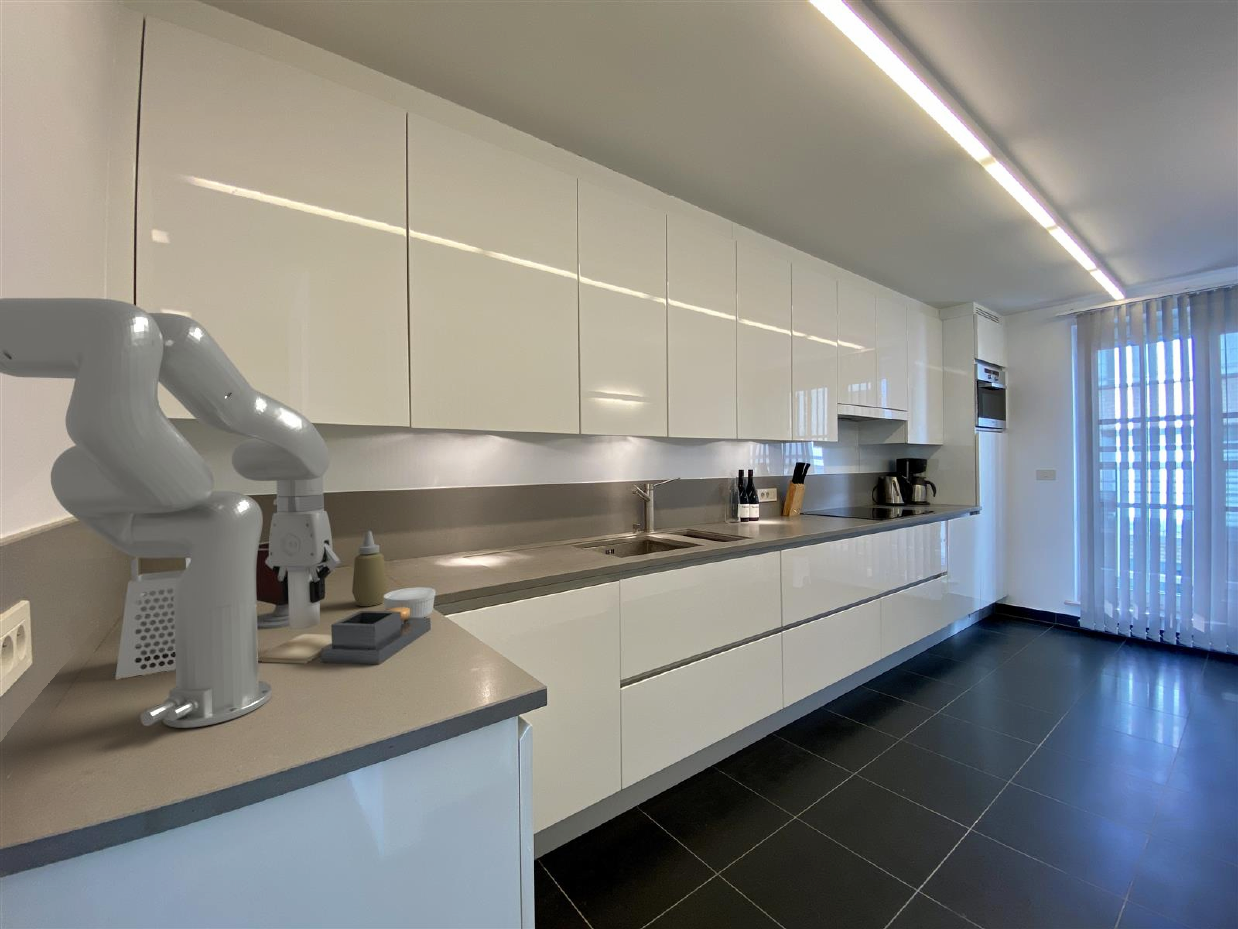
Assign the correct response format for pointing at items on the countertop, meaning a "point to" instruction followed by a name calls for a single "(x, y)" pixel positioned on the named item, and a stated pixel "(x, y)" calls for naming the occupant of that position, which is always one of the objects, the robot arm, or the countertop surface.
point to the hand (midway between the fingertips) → (303, 599)
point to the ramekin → (412, 600)
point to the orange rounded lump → (404, 612)
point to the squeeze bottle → (369, 574)
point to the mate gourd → (269, 592)
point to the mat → (297, 649)
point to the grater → (148, 621)
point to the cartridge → (301, 599)
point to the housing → (372, 637)
